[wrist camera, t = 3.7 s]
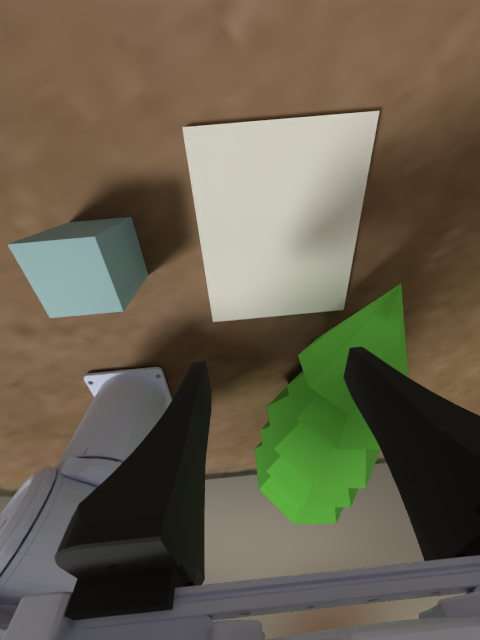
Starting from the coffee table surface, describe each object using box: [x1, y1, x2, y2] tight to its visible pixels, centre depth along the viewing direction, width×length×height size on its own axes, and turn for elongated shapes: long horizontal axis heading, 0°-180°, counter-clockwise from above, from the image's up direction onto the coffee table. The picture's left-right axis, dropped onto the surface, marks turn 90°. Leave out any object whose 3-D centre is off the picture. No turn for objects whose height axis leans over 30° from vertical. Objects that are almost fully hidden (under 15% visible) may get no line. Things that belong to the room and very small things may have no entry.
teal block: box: [8, 217, 148, 318], centre depth 16 cm, size 4×4×6 cm
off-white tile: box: [182, 111, 379, 322], centre depth 19 cm, size 14×12×1 cm
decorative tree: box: [255, 284, 409, 524], centre depth 23 cm, size 11×12×30 cm
